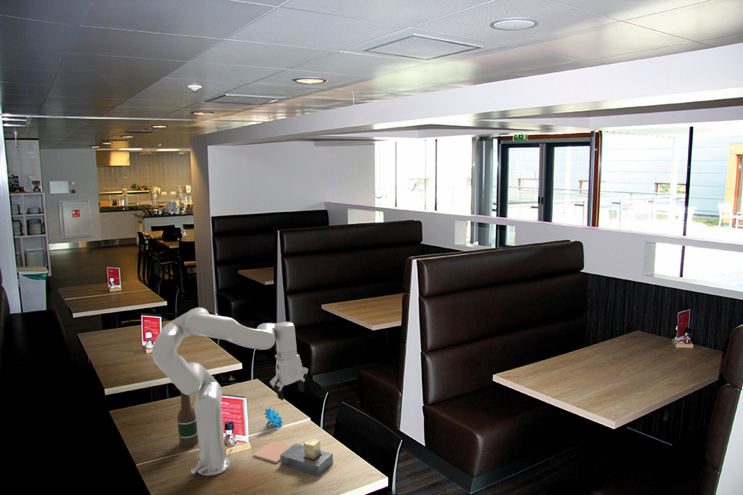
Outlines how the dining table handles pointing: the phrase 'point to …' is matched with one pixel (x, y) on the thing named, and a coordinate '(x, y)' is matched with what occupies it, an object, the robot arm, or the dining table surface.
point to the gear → (273, 417)
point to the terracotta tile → (272, 451)
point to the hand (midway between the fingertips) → (291, 394)
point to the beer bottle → (187, 423)
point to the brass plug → (312, 449)
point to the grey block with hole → (305, 460)
